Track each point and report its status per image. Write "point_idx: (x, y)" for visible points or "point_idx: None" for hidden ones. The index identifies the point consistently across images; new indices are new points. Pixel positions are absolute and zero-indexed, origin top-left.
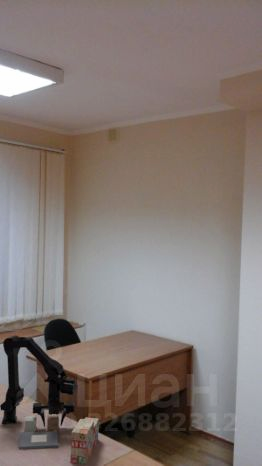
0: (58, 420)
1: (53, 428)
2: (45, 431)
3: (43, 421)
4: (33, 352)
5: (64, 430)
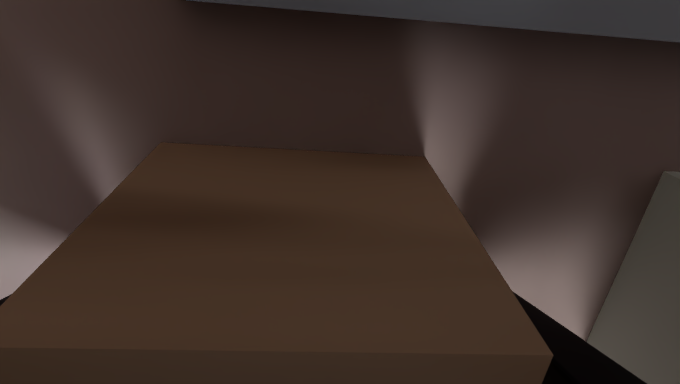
0: (5, 323)
1: (278, 170)
2: (525, 21)
3: (609, 372)
4: None
5: (3, 131)
